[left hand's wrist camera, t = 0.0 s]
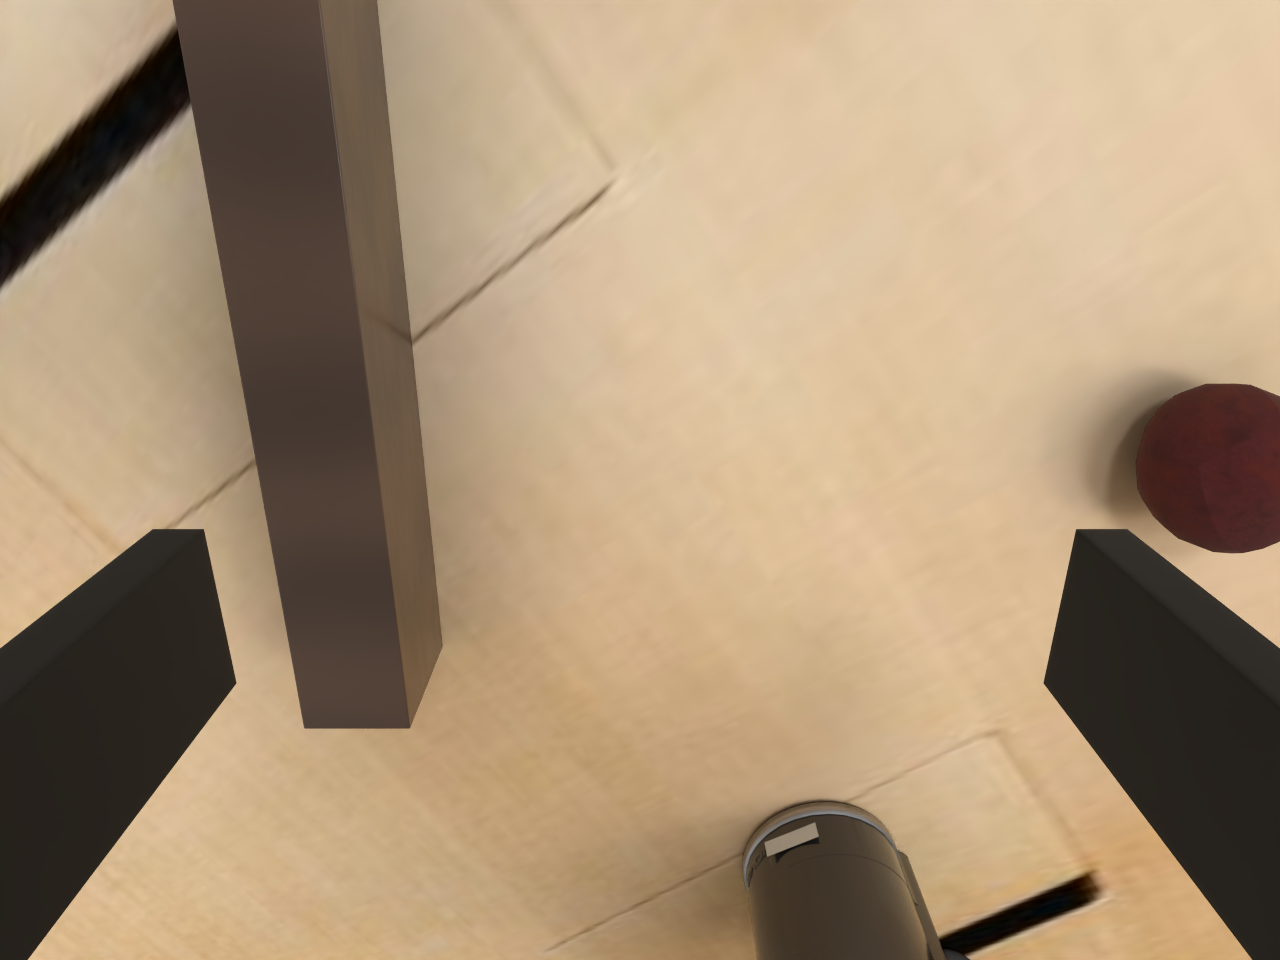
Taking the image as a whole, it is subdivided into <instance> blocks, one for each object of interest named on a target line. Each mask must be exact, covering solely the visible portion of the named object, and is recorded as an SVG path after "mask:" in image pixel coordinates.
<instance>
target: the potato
mask: <svg viewBox="0 0 1280 960" xmlns="http://www.w3.org/2000/svg"><path fill="white" fill-rule="evenodd" d="M1136 473H1137V486H1138V490H1139V493H1140V495H1141V497H1142V499H1143V501H1144V502H1145V504H1146V506H1147V507H1148V509H1149V510H1150V512H1151V513H1152V515H1153V516H1154V517H1155V518H1156V519H1157V520H1158V521H1159V522H1160V523H1161V524H1162V525H1163V526H1164V527H1165V528H1166V529H1167V530H1169V531H1170V532H1171V533H1172V534H1173V535H1175V536H1176V537H1177V538H1178V539H1181V540H1184V541H1186V542H1189V543H1191V544H1194V545H1197V546H1199V547H1202V548H1204V549H1207V550H1210V551H1212V552H1221V553H1245V552H1250V551H1254V550H1259V549H1263V548H1266V547H1268V546H1270V545H1273V544H1275V543H1277V542H1280V396H1277V395H1275V394H1272V393H1270V392H1267V391H1265V390H1262V389H1260V388H1257V387H1254V386H1252V385H1245V384H1205V385H1202V386H1199V387H1196V388H1193V389H1190V390H1187V391H1185V392H1182V393H1179V394H1177V395H1175V396H1174V397H1173V398H1171V399H1170V400H1169V401H1168V402H1166V403H1165V404H1164V405H1163V406H1161V407H1160V408H1159V409H1158V410H1157V411H1156V413H1155V414H1154V416H1153V417H1152V419H1151V420H1150V422H1149V423H1148V425H1147V426H1146V428H1145V431H1144V435H1143V438H1142V442H1141V445H1140V448H1139V452H1138V456H1137V459H1136Z"/></svg>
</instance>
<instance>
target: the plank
mask: <svg viewBox="0 0 1280 960" xmlns="http://www.w3.org/2000/svg"><path fill="white" fill-rule="evenodd" d="M173 5H174V10H175V16H176V21H177V27H178V32H179V38H180V44H181V49H182V55H183V60H184V66H185V71H186V77H187V82H188V88H189V93H190V99H191V104H192V110H193V115H194V121H195V126H196V132H197V138H198V143H199V149H200V154H201V160H202V165H203V171H204V176H205V182H206V187H207V193H208V198H209V204H210V209H211V215H212V221H213V226H214V232H215V237H216V243H217V248H218V254H219V259H220V265H221V270H222V276H223V281H224V287H225V292H226V298H227V303H228V309H229V315H230V320H231V326H232V331H233V337H234V342H235V348H236V353H237V359H238V364H239V370H240V375H241V381H242V386H243V392H244V398H245V403H246V409H247V414H248V420H249V425H250V431H251V436H252V442H253V447H254V453H255V458H256V464H257V469H258V475H259V480H260V486H261V492H262V497H263V503H264V508H265V514H266V519H267V525H268V530H269V536H270V541H271V547H272V552H273V558H274V563H275V569H276V575H277V580H278V586H279V591H280V597H281V602H282V608H283V613H284V619H285V624H286V630H287V635H288V641H289V646H290V652H291V658H292V663H293V669H294V674H295V680H296V685H297V691H298V696H299V702H300V707H301V713H302V718H303V724H304V728H410V727H411V724H412V722H413V719H414V717H415V714H416V712H417V709H418V707H419V704H420V702H421V699H422V697H423V694H424V691H425V689H426V686H427V684H428V681H429V679H430V676H431V674H432V671H433V669H434V666H435V664H436V661H437V659H438V656H439V654H440V651H441V649H442V637H441V627H440V617H439V608H438V598H437V588H436V578H435V568H434V559H433V549H432V539H431V529H430V519H429V509H428V500H427V490H426V480H425V470H424V460H423V451H422V441H421V431H420V421H419V411H418V401H417V392H416V382H415V372H414V362H413V352H412V343H411V333H410V323H409V313H408V303H407V294H406V284H405V274H404V264H403V254H402V244H401V235H400V225H399V215H398V205H397V195H396V186H395V176H394V166H393V156H392V146H391V136H390V127H389V117H388V107H387V97H386V87H385V78H384V68H383V58H382V48H381V38H380V29H379V19H378V9H377V0H173Z"/></svg>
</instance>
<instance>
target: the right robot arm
mask: <svg viewBox="0 0 1280 960" xmlns="http://www.w3.org/2000/svg"><path fill="white" fill-rule="evenodd" d="M742 867H743V876H744V883H745V887H746V890H747V893H748V899H749V906H750V912H751V919H752V928H753V935H754V942H755V949H756V956H757V960H970V959H968V958H967V957H966V956H964V955H962V954H960V953H958V952H956V951H954V950H950V949H942V947H941V944H940V941H939V939H938V936H937V933H936V931H935V928H934V925H933V923H932V920H931V917H930V915H929V912H928V910H927V907H926V904H925V902H924V899H923V896H922V894H921V891H920V888H919V886H918V883H917V880H916V878H915V875H914V872H913V870H912V867H911V865H910V862H909V859H908V857H907V856H906V855H904V854H902V853H900V852H899V851H897V849H896V846H895V843H894V841H893V838H892V836H891V834H890V833H889V831H888V830H887V828H886V827H885V826H884V825H883V824H882V823H881V822H880V821H879V820H878V819H877V818H876V817H874V816H873V815H871V814H870V813H868V812H866V811H864V810H862V809H859V808H857V807H854V806H851V805H846V804H842V803H833V802H817V803H809V804H804V805H800V806H796V807H793V808H790V809H787V810H785V811H783V812H781V813H779V814H777V815H775V816H774V817H772V818H770V819H769V820H768V821H766V822H765V823H764V824H763V825H762V826H761V827H759V829H758V830H757V831H756V832H755V833H754V834H753V836H752V837H751V839H750V840H749V842H748V844H747V846H746V849H745V852H744V855H743V864H742Z"/></svg>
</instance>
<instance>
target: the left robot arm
mask: <svg viewBox="0 0 1280 960" xmlns="http://www.w3.org/2000/svg"><path fill="white" fill-rule="evenodd" d="M235 684H236V679H235V674H234V670H233V665H232V660H231V655H230V651H229V646H228V641H227V637H226V632H225V627H224V622H223V618H222V613H221V608H220V604H219V599H218V594H217V589H216V585H215V580H214V575H213V571H212V566H211V561H210V556H209V552H208V547H207V542H206V538H205V533H204V529H153V530H151V531H150V532H149V533H147V534H146V535H145V536H144V537H142V538H141V539H140V540H138V541H137V542H136V543H135V544H133V545H132V546H131V547H130V548H128V549H127V550H126V551H124V552H123V553H122V554H121V555H119V556H118V557H117V558H115V559H114V560H113V561H112V562H110V563H109V564H108V565H106V566H105V567H104V568H103V569H101V570H100V571H99V572H98V573H96V574H95V575H94V576H92V577H91V578H90V579H89V580H87V581H86V582H85V583H83V584H82V585H81V586H80V587H78V588H77V589H76V590H74V591H73V592H72V593H71V594H69V595H68V596H67V597H66V598H64V599H63V600H62V601H60V602H59V603H58V604H57V605H55V606H54V607H53V608H51V609H50V610H49V611H48V612H46V613H45V614H44V615H42V616H41V617H40V618H39V619H37V620H36V621H35V622H33V623H32V624H31V625H30V626H28V627H27V628H26V629H25V630H23V631H22V632H21V633H19V634H18V635H17V636H16V637H14V638H13V639H12V640H10V641H9V642H8V643H7V644H5V645H4V646H3V647H1V648H0V960H28V959H29V957H30V956H31V955H32V953H33V952H34V951H35V949H36V948H37V947H38V945H39V944H40V943H41V941H42V940H43V939H44V937H45V936H46V935H47V933H48V932H49V931H50V929H51V928H52V927H53V925H54V924H55V923H56V921H57V920H58V919H59V917H60V916H61V915H62V913H63V912H64V911H65V910H66V908H67V907H68V906H69V904H70V903H71V902H72V900H73V899H74V898H75V896H76V895H77V894H78V892H79V891H80V890H81V888H82V887H83V886H84V884H85V883H86V882H87V880H88V879H89V878H90V876H91V875H92V874H93V872H94V871H95V870H96V868H97V867H98V866H99V864H100V863H101V862H102V861H103V859H104V858H105V857H106V855H107V854H108V853H109V851H110V850H111V849H112V847H113V846H114V845H115V843H116V842H117V841H118V839H119V838H120V837H121V835H122V834H123V833H124V831H125V830H126V829H127V827H128V826H129V825H130V823H131V822H132V821H133V819H134V818H135V817H136V816H137V814H138V813H139V812H140V810H141V809H142V808H143V806H144V805H145V804H146V802H147V801H148V800H149V798H150V797H151V796H152V794H153V793H154V792H155V790H156V789H157V788H158V786H159V785H160V784H161V782H162V781H163V780H164V778H165V777H166V776H167V774H168V773H169V772H170V770H171V769H172V768H173V767H174V765H175V764H176V763H177V761H178V760H179V759H180V757H181V756H182V755H183V753H184V752H185V751H186V749H187V748H188V747H189V745H190V744H191V743H192V741H193V740H194V739H195V737H196V736H197V735H198V733H199V732H200V731H201V729H202V728H203V727H204V725H205V724H206V723H207V721H208V720H209V719H210V718H211V716H212V715H213V714H214V712H215V711H216V710H217V708H218V707H219V706H220V704H221V703H222V702H223V700H224V699H225V698H226V696H227V695H228V694H229V692H230V691H231V690H232V688H233V687H234V686H235ZM1044 684H1045V686H1046V687H1047V688H1048V690H1049V691H1050V692H1051V694H1052V695H1053V696H1054V698H1055V699H1056V700H1057V702H1058V703H1059V704H1060V706H1061V707H1062V708H1063V710H1064V711H1065V712H1066V714H1067V715H1068V716H1069V718H1070V719H1071V720H1072V721H1073V723H1074V724H1075V725H1076V727H1077V728H1078V729H1079V731H1080V732H1081V733H1082V735H1083V736H1084V737H1085V739H1086V740H1087V741H1088V743H1089V744H1090V745H1091V747H1092V748H1093V749H1094V751H1095V752H1096V753H1097V755H1098V756H1099V757H1100V759H1101V760H1102V761H1103V763H1104V764H1105V765H1106V767H1107V768H1108V769H1109V770H1110V772H1111V773H1112V774H1113V776H1114V777H1115V778H1116V780H1117V781H1118V782H1119V784H1120V785H1121V786H1122V788H1123V789H1124V790H1125V792H1126V793H1127V794H1128V796H1129V797H1130V798H1131V800H1132V801H1133V802H1134V804H1135V805H1136V806H1137V808H1138V809H1139V810H1140V812H1141V813H1142V814H1143V816H1144V817H1145V818H1146V819H1147V821H1148V822H1149V823H1150V825H1151V826H1152V827H1153V829H1154V830H1155V831H1156V833H1157V834H1158V835H1159V837H1160V838H1161V839H1162V841H1163V842H1164V843H1165V845H1166V846H1167V847H1168V849H1169V850H1170V851H1171V853H1172V854H1173V855H1174V857H1175V858H1176V859H1177V861H1178V862H1179V863H1180V864H1181V866H1182V867H1183V868H1184V870H1185V871H1186V872H1187V874H1188V875H1189V876H1190V878H1191V879H1192V880H1193V882H1194V883H1195V884H1196V886H1197V887H1198V888H1199V890H1200V891H1201V892H1202V894H1203V895H1204V896H1205V898H1206V899H1207V900H1208V902H1209V903H1210V904H1211V906H1212V907H1213V908H1214V910H1215V911H1216V912H1217V913H1218V915H1219V916H1220V917H1221V919H1222V920H1223V921H1224V923H1225V924H1226V925H1227V927H1228V928H1229V929H1230V931H1231V932H1232V933H1233V935H1234V936H1235V937H1236V939H1237V940H1238V941H1239V943H1240V944H1241V945H1242V947H1243V948H1244V949H1245V951H1246V952H1247V953H1248V955H1249V956H1250V957H1251V959H1252V960H1280V648H1279V647H1277V646H1276V645H1275V644H1273V643H1272V642H1271V641H1270V640H1268V639H1267V638H1266V637H1264V636H1263V635H1262V634H1261V633H1259V632H1258V631H1257V630H1255V629H1254V628H1253V627H1252V626H1250V625H1249V624H1248V623H1247V622H1245V621H1244V620H1243V619H1241V618H1240V617H1239V616H1238V615H1236V614H1235V613H1234V612H1232V611H1231V610H1230V609H1229V608H1227V607H1226V606H1225V605H1223V604H1222V603H1221V602H1220V601H1218V600H1217V599H1216V598H1214V597H1213V596H1212V595H1211V594H1209V593H1208V592H1207V591H1206V590H1204V589H1203V588H1202V587H1200V586H1199V585H1198V584H1197V583H1195V582H1194V581H1193V580H1191V579H1190V578H1189V577H1188V576H1186V575H1185V574H1184V573H1182V572H1181V571H1180V570H1179V569H1177V568H1176V567H1175V566H1174V565H1172V564H1171V563H1170V562H1168V561H1167V560H1166V559H1165V558H1163V557H1162V556H1161V555H1159V554H1158V553H1157V552H1156V551H1154V550H1153V549H1152V548H1150V547H1149V546H1148V545H1147V544H1145V543H1144V542H1143V541H1142V540H1140V539H1139V538H1138V537H1136V536H1135V535H1134V534H1133V533H1131V532H1130V531H1129V530H1127V529H1076V533H1075V538H1074V542H1073V547H1072V552H1071V556H1070V561H1069V566H1068V571H1067V575H1066V580H1065V585H1064V589H1063V594H1062V599H1061V604H1060V608H1059V613H1058V618H1057V622H1056V627H1055V632H1054V637H1053V641H1052V646H1051V651H1050V655H1049V660H1048V665H1047V670H1046V674H1045V679H1044Z"/></svg>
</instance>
